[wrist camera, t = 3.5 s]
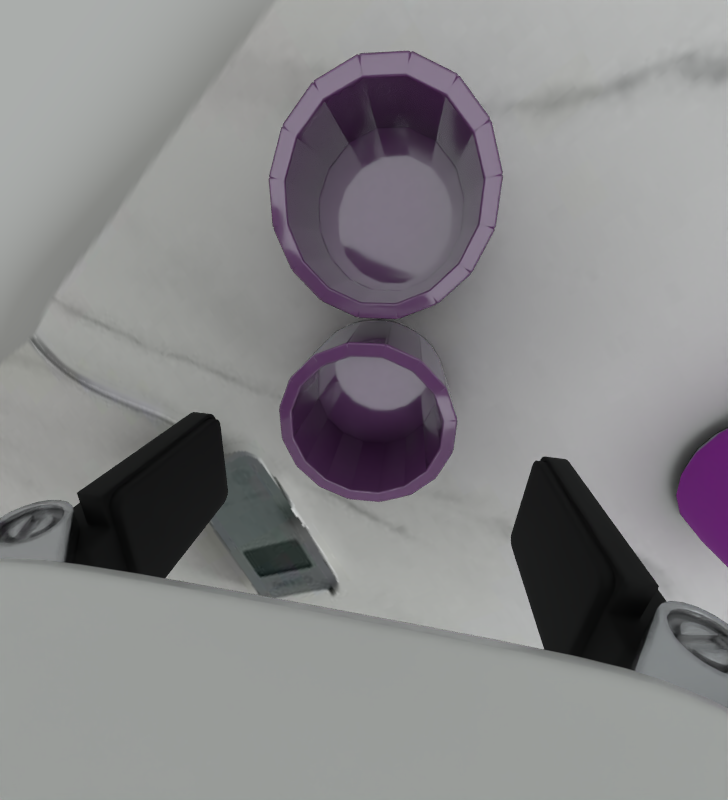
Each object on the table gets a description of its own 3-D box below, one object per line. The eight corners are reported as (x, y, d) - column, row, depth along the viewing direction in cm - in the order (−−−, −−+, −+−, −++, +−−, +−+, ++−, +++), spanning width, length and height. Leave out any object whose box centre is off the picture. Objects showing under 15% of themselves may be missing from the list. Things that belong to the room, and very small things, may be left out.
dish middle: (285, 382, 17) (246, 421, 13) (379, 287, 15) (367, 301, 11) (374, 467, 19) (364, 526, 15) (474, 392, 16) (494, 439, 12)
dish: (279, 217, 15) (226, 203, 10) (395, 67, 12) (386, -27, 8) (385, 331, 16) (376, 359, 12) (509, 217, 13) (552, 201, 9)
